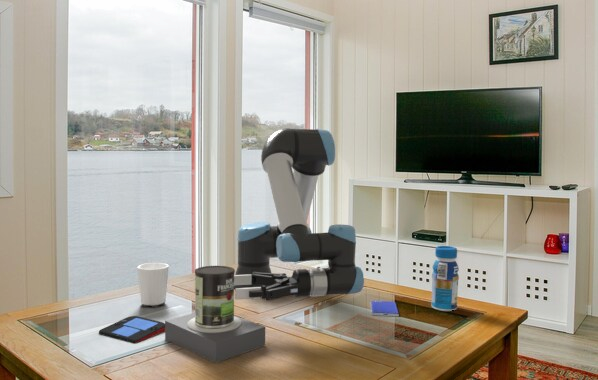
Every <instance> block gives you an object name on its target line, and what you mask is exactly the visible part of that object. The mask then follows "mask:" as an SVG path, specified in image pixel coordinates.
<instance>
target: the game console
mask: <svg viewBox="0 0 598 380" xmlns="http://www.w3.org/2000/svg"><path fill="white" fill-rule="evenodd" d="M163 332H164V333H165V322H163V321H160V320H159V321H158V320H155V319H151V318H147V317H142V316H137V315H131V316H127V317H125V318H123V319H121V320H118V321H116V322H114V323H112V324H110V325H108V326H105V327H103V328H101V329H100V330H99V331H98V334H99V335H102V336H106V337H108V338H113V339H117V340H120V341H125V342H126V343H131V344H136V343H137V344H138V343H140V342H142V341H144V340H147V339H149V338H151V337H154V336H156V335H159V334H160V333H163Z"/></svg>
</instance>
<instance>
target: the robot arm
mask: <svg viewBox="0 0 598 380" xmlns="http://www.w3.org/2000/svg"><path fill="white" fill-rule="evenodd" d="M262 147H263V148H262V149H261V155H260V156H261V157H260V160H261V165H262V169H263V171H264V172H265V173H267V177H268V180H269V185H270V189H271V194H272V199H273V203H274V207H275V211H276V215H277V218H278V222H277V225H273V226H272V225H271V224H270V223H269V222H266V221H263V222H262V221H261V222H252V223H247V224H244V225H241V226H240V227H239V229H238V232H237V233H238V234H237V268H236V270H235V273H234V300H237V301H238V300H251V299H252V300H253V299H262V300H266V301H267V302H268V301H273V300H277V299H282V298H286V297H290V296H291V297H292V296H294V297H295V298H306V297H309V296H310V297H313V298H314V297H324V296H337V295H338V296H340V295H341V296H342V295H345V296H346V295H352V294H359V293H360V292H361V291H362V290H363V289H364V285H365V278H364V272H363V270H362V268H361V267H359V266H356V244H357V241H356V239H357V238H356V237H357V235H356V229H355V227H354V226H352V225H350V224H331V225H329V227H328V230H327V232H315V233H314V232H313V233H312V230H311V228H310V226H309V224H308V219H309V214H310V211H311V207H312V203H313V199H314V195H315V190H316V187H317V183H318V179H319V176H321V175H322V174H324V172H325V170H326V167H327V166H328V167H330V166H333V164H334V163H335V159H336V145H335V141H334V137H333V135H332V133H331V132H330V131H329V130H326V129H319V128H316V129H314V128H312V129H309V128H308V129H306V128H290V127H289V128H282V129H279V130H276V131H275V132H273V133H272V134H271V135H270V136H269V137H268V138H267V140H266V141H265V143H264V145H263V146H262ZM271 258H272V259H275V258H278V259H279V261H281V262H284V263H298V262H309V261H310V262H311V261H327V263H328V264H327V265H328V266H327V267H326V268H323V267H322V268H321V267H320V266H317V267H316V268H309V269H306V268H302V269H301V268H299V269H294V270H293V271H292V275H291V276H288V275H287V273H285V272H283V273H275V272H273V273H272V269H271V266H270V259H271Z"/></svg>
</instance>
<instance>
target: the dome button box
mask: <svg viewBox="0 0 598 380" xmlns="http://www.w3.org/2000/svg"><path fill="white" fill-rule="evenodd" d="M164 323H165V331H164V339H165V340H167V341H169V342H171V343H173V344H175V345H177V346H179V347H182V348H183V349H185V350H188V351H190V352H192V353H194V354H196V355H198V356H200V357H202V358H204V359H206V360H208V361H210V362H213V363H215V364H218V363H220V362H222V361H226V360H228V359H231V358H234V357H238V356H240V355H242V354H245V353H248V352H251V351H253V350H257V349H258V348H259V349H260V348H262V347H264V345H265V346H266V326H265V325H262V324H259V323H256V322H253V321H251V320H248V319H245V318H242V317H239V316H237V315H234V323H233V324H232V325H230V326H227V327H224V328H215V329H210V328H202V327H199V326H197V325H196V324H195V312H193V313H189V314H185V315H182V316H177V317H173V318H170V319H165V320H164Z"/></svg>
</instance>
